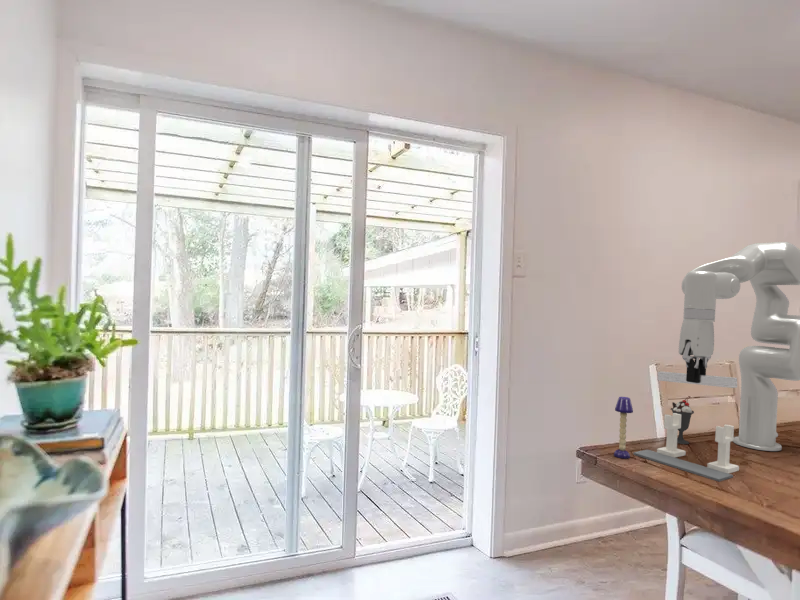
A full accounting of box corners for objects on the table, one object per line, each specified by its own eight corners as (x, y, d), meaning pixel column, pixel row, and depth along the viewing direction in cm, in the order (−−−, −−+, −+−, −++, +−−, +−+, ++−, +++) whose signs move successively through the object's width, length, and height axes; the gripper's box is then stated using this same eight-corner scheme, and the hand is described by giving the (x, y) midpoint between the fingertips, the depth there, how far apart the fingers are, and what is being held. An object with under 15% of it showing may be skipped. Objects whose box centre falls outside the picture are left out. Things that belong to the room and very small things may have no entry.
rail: (662, 380, 147) (662, 371, 147) (737, 387, 130) (737, 377, 130) (657, 380, 146) (657, 371, 146) (732, 387, 129) (732, 378, 129)
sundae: (696, 446, 154) (698, 397, 154) (672, 443, 156) (674, 396, 156) (688, 440, 161) (690, 394, 161) (665, 438, 162) (668, 392, 162)
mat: (647, 451, 146) (647, 449, 146) (733, 477, 127) (733, 474, 127) (633, 454, 143) (633, 452, 143) (719, 481, 123) (719, 479, 123)
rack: (668, 450, 149) (670, 411, 148) (738, 470, 132) (740, 427, 132) (656, 452, 145) (658, 413, 145) (727, 473, 129) (729, 429, 129)
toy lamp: (609, 453, 143) (612, 395, 143) (625, 453, 143) (627, 395, 143) (618, 458, 138) (621, 398, 138) (634, 459, 138) (637, 399, 138)
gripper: (700, 315, 145) (697, 378, 145) (669, 314, 137) (665, 381, 137) (728, 317, 139) (725, 383, 139) (697, 315, 130) (694, 385, 130)
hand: (695, 381), depth 138 cm, fingers closed on rail, 2 cm apart
